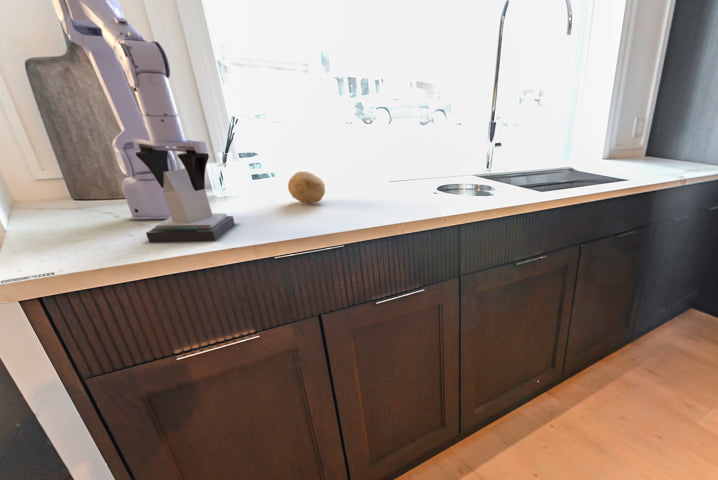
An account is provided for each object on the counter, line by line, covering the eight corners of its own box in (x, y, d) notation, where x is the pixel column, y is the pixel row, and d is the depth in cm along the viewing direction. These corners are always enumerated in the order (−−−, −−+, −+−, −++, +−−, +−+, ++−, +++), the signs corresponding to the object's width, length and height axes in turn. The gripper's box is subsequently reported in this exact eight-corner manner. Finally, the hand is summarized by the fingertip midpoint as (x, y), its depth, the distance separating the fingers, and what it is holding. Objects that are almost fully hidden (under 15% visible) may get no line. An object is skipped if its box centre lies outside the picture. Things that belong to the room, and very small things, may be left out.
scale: (149, 242, 86) (144, 228, 84) (176, 225, 97) (172, 213, 95) (215, 240, 88) (211, 227, 87) (235, 224, 99) (231, 212, 98)
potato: (293, 209, 113) (287, 178, 110) (289, 199, 124) (283, 170, 120) (331, 207, 118) (327, 176, 114) (324, 197, 128) (320, 169, 125)
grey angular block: (212, 215, 94) (198, 168, 90) (188, 223, 89) (172, 172, 84) (197, 214, 95) (183, 167, 90) (172, 222, 89) (155, 171, 84)
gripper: (210, 116, 85) (228, 187, 91) (145, 113, 86) (168, 183, 93) (181, 117, 79) (203, 193, 85) (112, 114, 80) (139, 188, 87)
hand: (183, 188), depth 89 cm, fingers open, 7 cm apart
